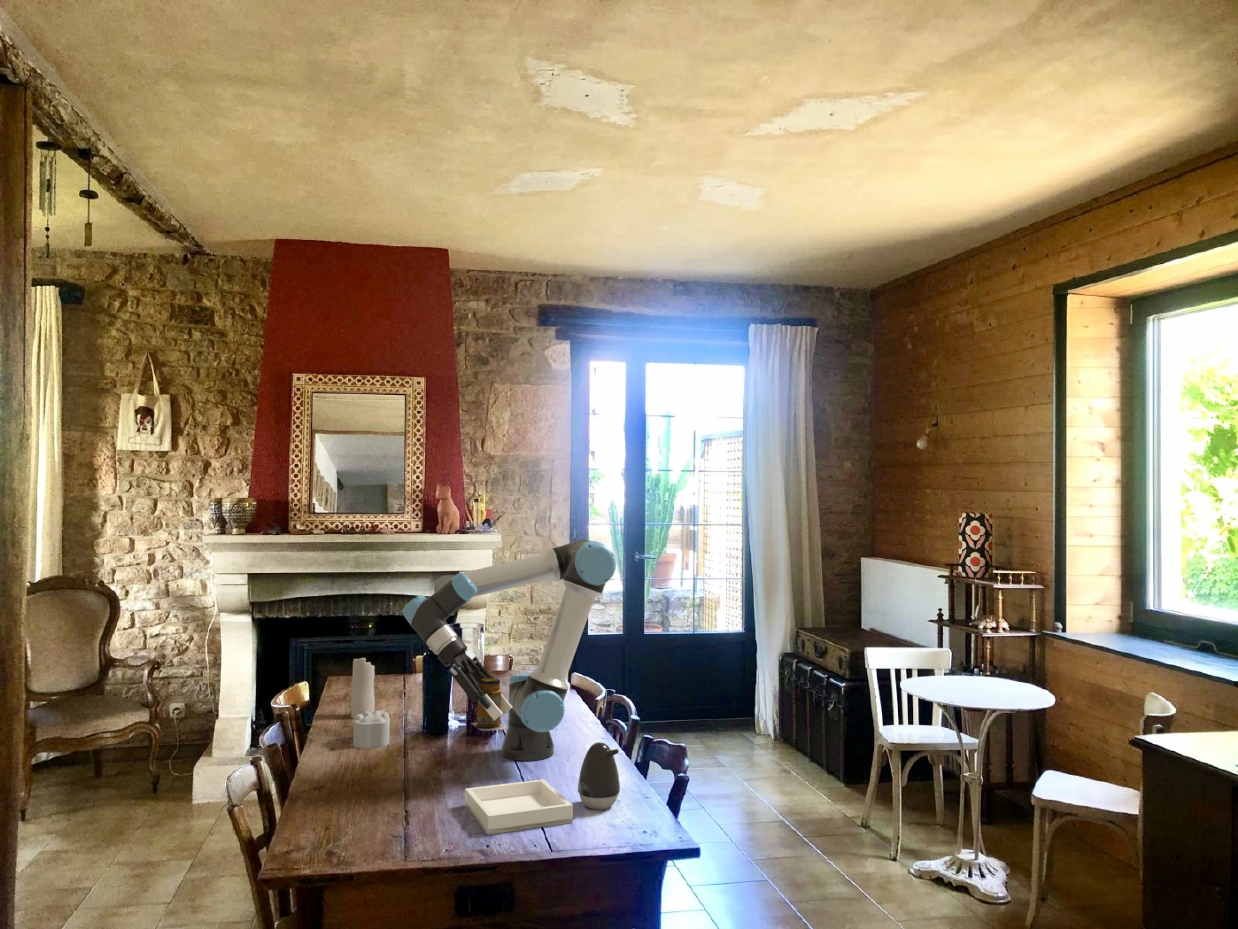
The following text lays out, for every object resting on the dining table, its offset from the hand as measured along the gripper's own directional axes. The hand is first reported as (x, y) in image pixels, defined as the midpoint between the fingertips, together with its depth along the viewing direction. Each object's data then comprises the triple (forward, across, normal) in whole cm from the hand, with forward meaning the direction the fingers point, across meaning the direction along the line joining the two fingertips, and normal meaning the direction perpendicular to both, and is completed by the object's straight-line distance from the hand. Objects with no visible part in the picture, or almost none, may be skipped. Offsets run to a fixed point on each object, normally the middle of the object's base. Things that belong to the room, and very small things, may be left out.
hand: (503, 713), depth 232 cm
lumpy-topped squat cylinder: (-24, -24, -50) cm, 61 cm away
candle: (-37, -53, -63) cm, 90 cm away
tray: (+21, +18, -5) cm, 29 cm away
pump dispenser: (+33, +7, +7) cm, 35 cm away
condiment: (0, +1, -5) cm, 5 cm away
